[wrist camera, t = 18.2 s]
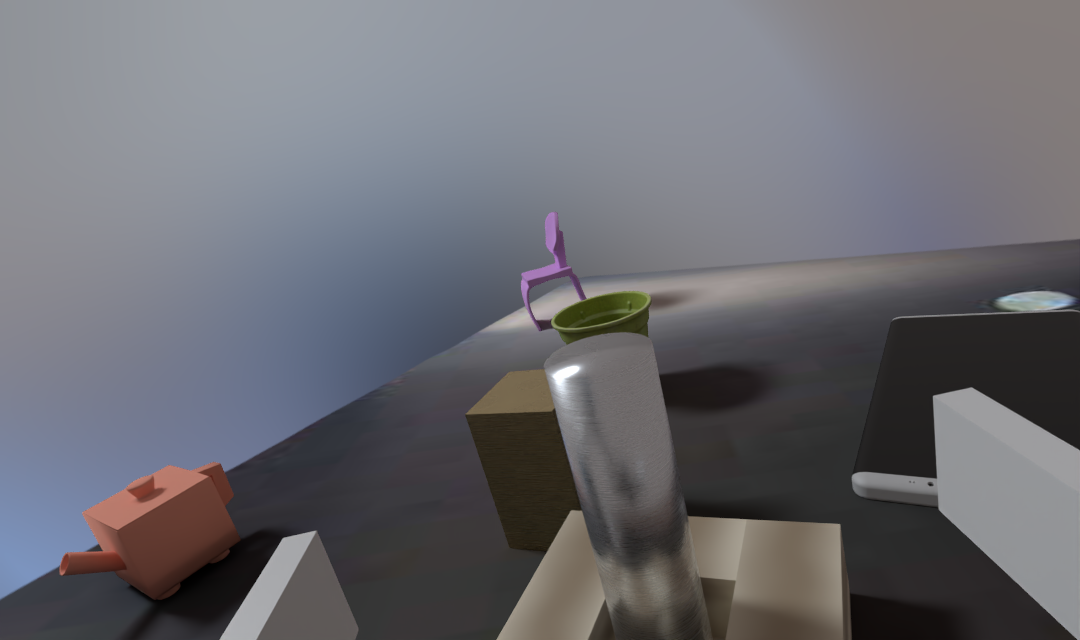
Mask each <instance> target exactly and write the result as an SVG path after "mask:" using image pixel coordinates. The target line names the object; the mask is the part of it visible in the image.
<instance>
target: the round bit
mask: <svg viewBox="0 0 1080 640" xmlns="http://www.w3.org/2000/svg"><path fill="white" fill-rule="evenodd" d="M544 369H545V373H546V377H547V380H548V384H549V388H550V392H551V395H552V399H553V403H554V407H555V410H556V414H557V418H558V422H559V426H560V429H561V433H562V437H563V441H564V444H565V448H566V452H567V456H568V460H569V463H570V467H571V471H572V475H573V478H574V482H575V486H576V490H577V493H578V497H579V501H580V505H581V509H582V512H583V516H584V520H585V524H586V527H587V531H588V535H589V539H590V542H591V546H592V550H593V554H594V558H595V561H596V565H597V569H598V573H599V576H600V580H601V584H602V588H603V591H604V595H605V599H606V603H607V607H608V610H609V614H610V618H611V622H612V625H613V629H614V633H615V637H616V640H713V638H712V633H711V628H710V623H709V618H708V613H707V608H706V603H705V599H704V594H703V589H702V584H701V579H700V574H699V569H698V564H697V559H696V554H695V550H694V545H693V540H692V535H691V530H690V525H689V520H688V515H687V510H686V505H685V501H684V496H683V491H682V486H681V481H680V476H679V471H678V466H677V461H676V456H675V452H674V447H673V442H672V437H671V432H670V427H669V422H668V417H667V412H666V407H665V403H664V398H663V393H662V388H661V383H660V378H659V373H658V368H657V363H656V358H655V354H654V349H653V344H652V341H651V340H650V339H649V338H648V337H646V336H644V335H641V334H636V333H626V332H620V333H608V334H601V335H596V336H592V337H588V338H584V339H581V340H578V341H575V342H573V343H570V344H568V345H566V346H564V347H562V348H560V349H558V350H557V351H555V352H554V353H553V354H551V355H550V356H549V357H548V358H547V360H546V361H545V364H544Z"/></svg>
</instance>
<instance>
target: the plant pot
mask: <svg viewBox="0 0 1080 640" xmlns="http://www.w3.org/2000/svg"><path fill="white" fill-rule="evenodd" d="M650 305H651V296H650V295H648V294H647V293H644V292H639V291H622V292H614V293H608V294H604V295H599V296H595V297H591V298H588V299H585V300H582V301H579V302H577V303H575V304H573V305H571V306H568V307H566V308H564V309H563V310H561V311H560V312H558V313H557V314H556V315H555V316H554V317H553V319H552V320H551V324H552V326H553V328H554V329H555V330H557V331H558V332H559V334H560V336H561V338H562V340H563V341H564V342H566V344H567V345H568V344H570V343H573V342H575V341H578V340H581V339H584V338H588V337H592V336H596V335H601V334H608V333H620V332H626V333H636V334H641V335H644V336H646V337H648V326H647V322H648V319H649V310H648V308H649V307H650Z"/></svg>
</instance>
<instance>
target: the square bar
mask: <svg viewBox="0 0 1080 640" xmlns="http://www.w3.org/2000/svg"><path fill="white" fill-rule="evenodd" d="M465 415H466V418H467V421H468V424H469V427H470V430H471V433H472V436H473V439H474V442H475V445H476V448H477V451H478V454H479V457H480V460H481V463H482V466H483V469H484V472H485V475H486V478H487V481H488V484H489V487H490V490H491V493H492V496H493V499H494V502H495V505H496V508H497V511H498V514H499V517H500V520H501V523H502V526H503V529H504V532H505V535H506V538H507V541H508V544H509V547H510V548H517V549H528V550H539V551H548V550H549V548H550V546H551V544H552V543H553V541H554V539H555V537H556V536H557V534H558V532H559V530H560V529H561V527H562V525H563V523H564V522H565V520H566V518H567V516H568V515H569V513H570V511H571V510H574V511H582V509H581V505H580V501H579V497H578V493H577V490H576V486H575V482H574V478H573V475H572V471H571V467H570V463H569V460H568V456H567V452H566V448H565V444H564V441H563V437H562V433H561V429H560V426H559V422H558V418H557V414H556V410H555V407H554V403H553V399H552V395H551V392H550V388H549V384H548V380H547V377H546V373H545V369H541V370H528V371H515V372H509V373H508V374H507V375H506V376H505V377H504V378H502V379H501V380H500V381H499V382H498V383H497V384H496V385H495V386H494V387H493V388H492V389H491V390H490V391H489V392H488V393H487V394H486V395H485V396H484V397H483V398H482V399H481V400H480V401H479V402H478V403H477V404H476V405H475V406H473V407H472V408H471V409H470V410H469V411H468V412H467V413H466V414H465Z"/></svg>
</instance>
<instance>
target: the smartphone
mask: <svg viewBox="0 0 1080 640" xmlns="http://www.w3.org/2000/svg"><path fill="white" fill-rule="evenodd" d="M971 387H972V388H974V389H975V390H977V391H979V392H980V393H982V394H984V395H986V396H987V397H989V398H991V399H992V400H994V401H996V402H998V403H999V404H1001V405H1003V406H1004V407H1006V408H1008V409H1010V410H1011V411H1013V412H1015V413H1016V414H1018V415H1020V416H1022V417H1023V418H1025V419H1027V420H1028V421H1030V422H1032V423H1034V424H1035V425H1037V426H1039V427H1040V428H1042V429H1044V430H1046V431H1047V432H1049V433H1051V434H1052V435H1054V436H1056V437H1058V438H1059V439H1061V440H1063V441H1065V442H1066V443H1068V444H1070V445H1071V446H1073V447H1075V448H1077V449H1078V450H1080V311H1077V310H1051V311H1026V312H1002V313H978V314H954V315H929V316H905V317H897V318H895V319H893V320H892V321H891V325H890V329H889V333H888V336H887V340H886V344H885V348H884V352H883V356H882V360H881V364H880V368H879V372H878V376H877V380H876V384H875V388H874V392H873V396H872V400H871V404H870V408H869V412H868V415H867V419H866V423H865V427H864V431H863V435H862V439H861V443H860V447H859V451H858V455H857V459H856V463H855V467H854V471H853V475H852V484H853V489H854V491H855V493H856V494H857V495H859V496H860V497H862V498H865V499H871V500H879V501H888V502H896V503H905V504H913V505H921V506H930V507H938V508H939V505H938V485H937V466H936V447H935V427H934V408H933V396H935V395H939V394H944V393H948V392H953V391H957V390H962V389H967V388H971Z"/></svg>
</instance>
